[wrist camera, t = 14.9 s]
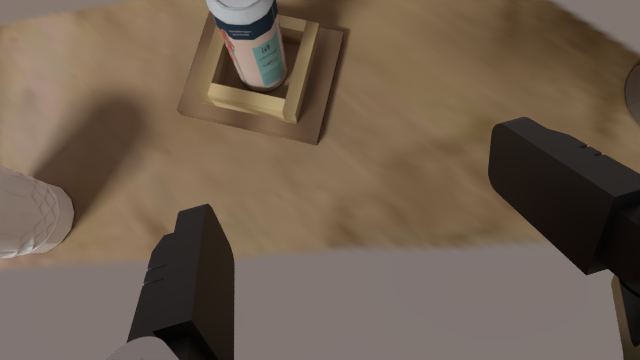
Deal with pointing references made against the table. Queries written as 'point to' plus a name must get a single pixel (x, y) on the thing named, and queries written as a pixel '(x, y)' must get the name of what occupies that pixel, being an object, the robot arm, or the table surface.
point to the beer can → (252, 40)
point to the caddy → (271, 106)
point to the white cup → (31, 214)
